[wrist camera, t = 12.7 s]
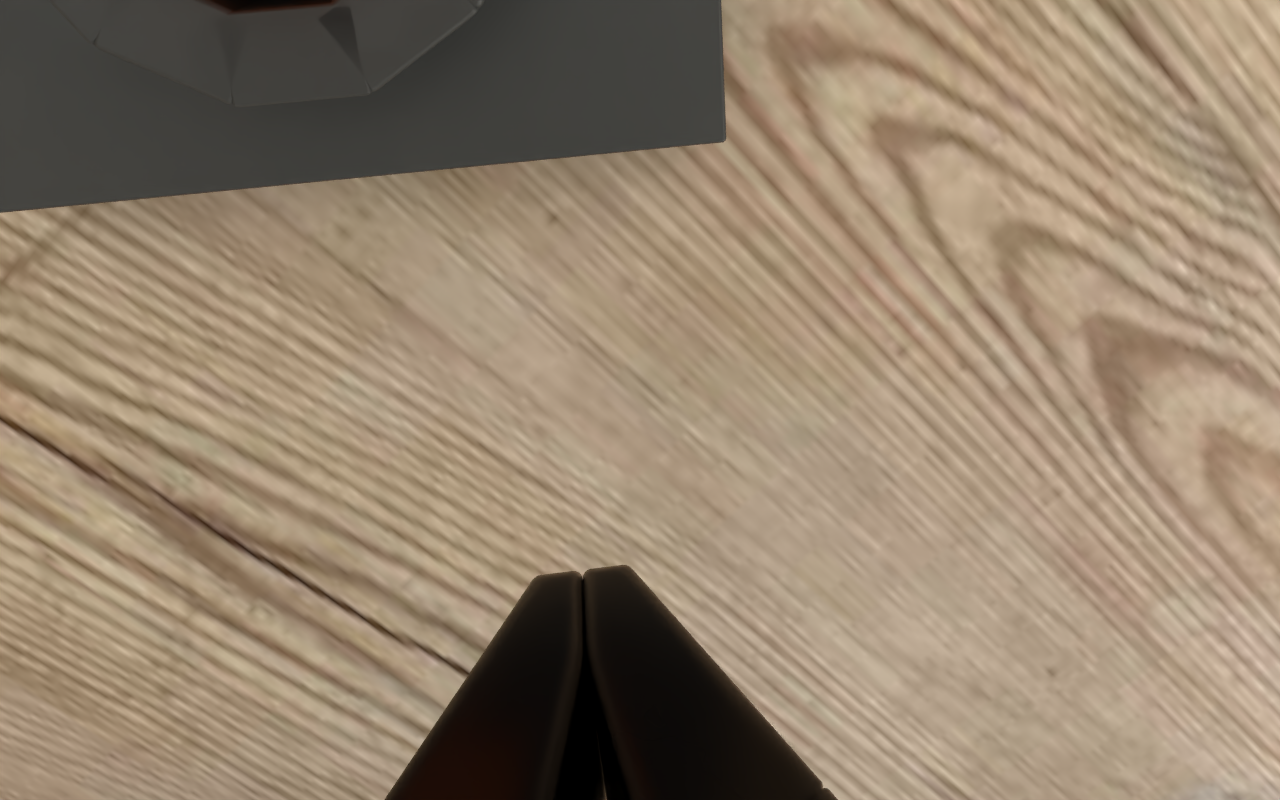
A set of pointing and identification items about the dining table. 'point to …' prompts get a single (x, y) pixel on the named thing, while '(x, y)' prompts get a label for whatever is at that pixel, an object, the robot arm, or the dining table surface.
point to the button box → (337, 89)
